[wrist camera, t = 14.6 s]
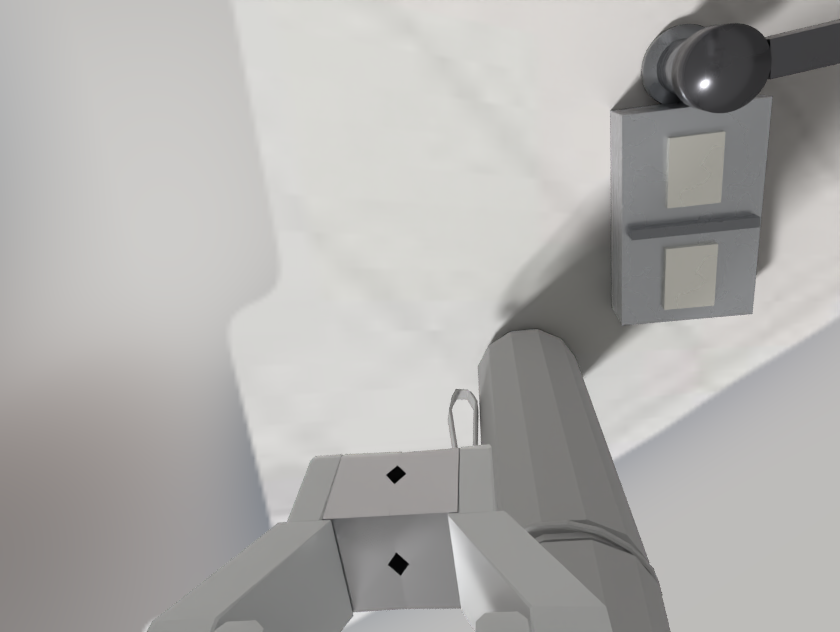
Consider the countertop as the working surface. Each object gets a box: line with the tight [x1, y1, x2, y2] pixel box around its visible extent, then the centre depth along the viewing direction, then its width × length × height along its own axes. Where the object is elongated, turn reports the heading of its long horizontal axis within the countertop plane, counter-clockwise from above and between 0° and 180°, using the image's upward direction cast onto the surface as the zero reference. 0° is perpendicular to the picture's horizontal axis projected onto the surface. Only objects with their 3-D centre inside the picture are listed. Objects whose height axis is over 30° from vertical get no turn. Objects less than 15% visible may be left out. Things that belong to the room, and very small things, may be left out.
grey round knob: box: [641, 24, 705, 105], centre depth 33 cm, size 4×4×4 cm
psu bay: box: [610, 95, 772, 325], centre depth 37 cm, size 13×8×4 cm, turn 8°
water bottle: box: [448, 329, 670, 632], centre depth 33 cm, size 9×8×25 cm
